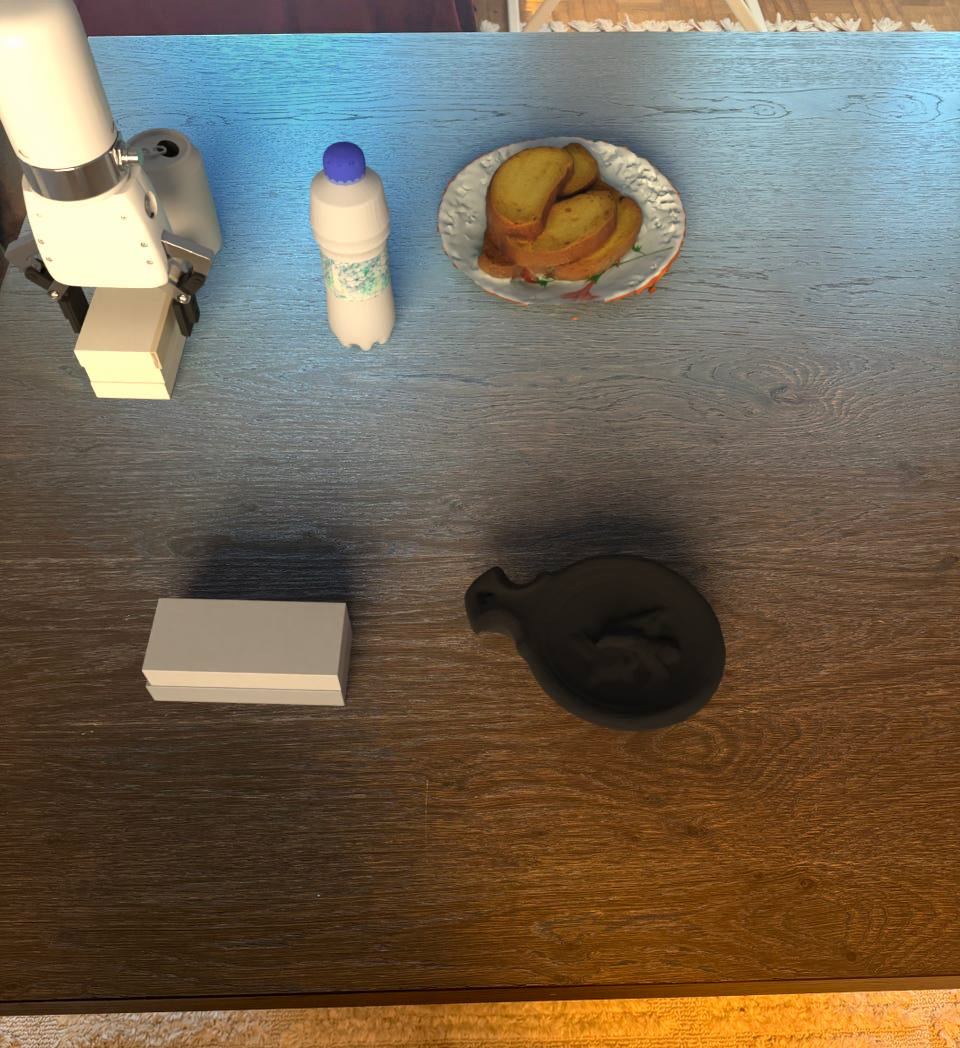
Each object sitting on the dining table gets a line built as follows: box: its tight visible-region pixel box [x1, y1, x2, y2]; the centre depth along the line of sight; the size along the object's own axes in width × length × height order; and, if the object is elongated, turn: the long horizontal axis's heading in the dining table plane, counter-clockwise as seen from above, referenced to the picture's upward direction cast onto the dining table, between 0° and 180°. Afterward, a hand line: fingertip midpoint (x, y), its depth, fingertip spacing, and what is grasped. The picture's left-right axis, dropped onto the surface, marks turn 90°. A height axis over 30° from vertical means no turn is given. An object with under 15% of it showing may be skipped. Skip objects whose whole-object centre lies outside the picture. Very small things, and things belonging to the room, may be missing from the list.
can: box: [125, 127, 223, 270], centre depth 93 cm, size 8×8×12 cm
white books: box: [83, 320, 187, 400], centre depth 89 cm, size 12×7×4 cm, turn 179°
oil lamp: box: [463, 553, 727, 732], centre depth 71 cm, size 15×20×5 cm
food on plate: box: [436, 136, 687, 321], centre depth 97 cm, size 25×25×7 cm
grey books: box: [141, 597, 353, 707], centre depth 70 cm, size 14×6×5 cm, turn 89°
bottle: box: [309, 140, 397, 352], centre depth 84 cm, size 7×7×20 cm
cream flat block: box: [73, 257, 188, 369], centre depth 86 cm, size 12×7×2 cm, turn 179°
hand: (136, 324), depth 87 cm, fingers open, 9 cm apart
